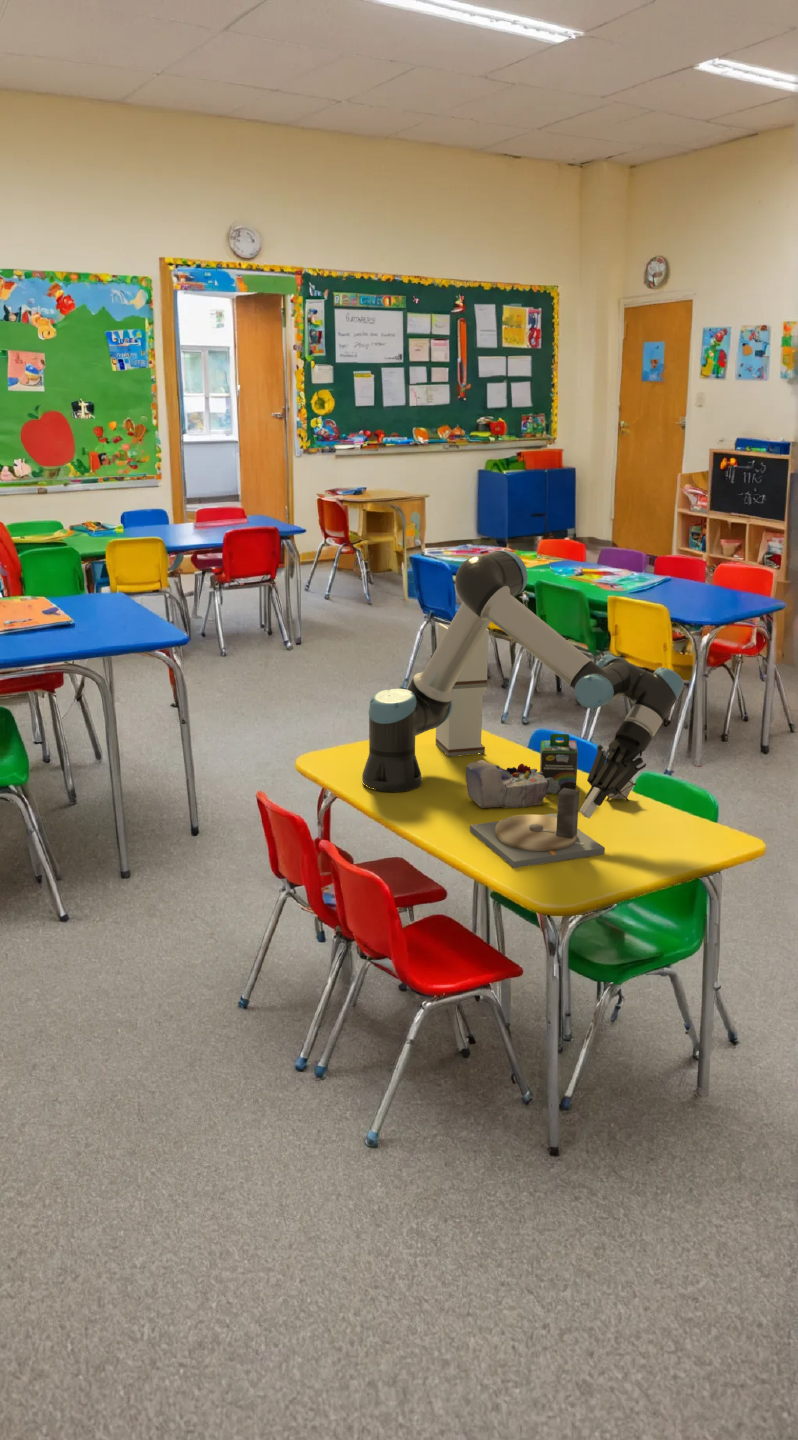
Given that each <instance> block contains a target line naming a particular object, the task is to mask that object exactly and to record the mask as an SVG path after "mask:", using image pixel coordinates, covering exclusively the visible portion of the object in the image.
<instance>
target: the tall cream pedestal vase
mask: <svg viewBox="0 0 798 1440" xmlns="http://www.w3.org/2000/svg"><path fill="white" fill-rule="evenodd" d="M448 627H449V626H446V625H445V624H443V623H440V622H439V623H437V646H438V645H439V643H440V641H441V640H442V638H443V636H444V634H445V632H446V631H447V629H448ZM489 632H490V629H488V628H487V629H486V631H485V633H484V635H483V636H482V638H481V640H480V641H479V643H478V645H477V647H476V648H475V650H474V652H473V653H472V655H471V657H470V659H469V660H468V662H467V664H466V666H465V667H464V669H463V671H462V672H461V674H460V676H459V678H458V679H457V681H456V683H455V684H454V686H453V688H452V689H453V692H454V697H453V699H452V701H451V703H452V710H451V713H450V715H449V717H448V718H447V720H446V721H445V722H443V723H442V724H441V725H440V726H438V727H436V728H435V746H436V745H438V747H439V748H440V750H441V749H442V750H441V751H442V752H443V753H444V752H445V753H446V754H447V755H446V754H445V753H444V754H445V755H446V756H447V757H448V756H453V757H460V756H459V755H465V756H468V755H467V754H478V753H485V754H486V747H485V746H484V744H482V728H483V727H482V726H483V725H482V724H483V700H484V699H483V697H484V695H483V694H484V693H487V692H488V665H489V664H488V663H489V638H490V637H489V636H490V635H489ZM438 747H437V748H438ZM439 748H438V749H439ZM478 755H479V754H478Z"/></svg>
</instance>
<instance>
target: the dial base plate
mask: <svg viewBox="0 0 798 1440" xmlns="http://www.w3.org/2000/svg"><path fill="white" fill-rule="evenodd" d="M544 815H545V816H551V817H556V818H557V812H556V813H548V814H544ZM499 821H500V820H497V821H491V822H483V823H482V822H481V823H475V824H470V825H469V831H470V833H471V834H473V836H475V837H476V838H477V837H478V838H477V839H478V840H480V841H481V842H482V843H484V845H486V846H487V847H488V848H489V849H491V850H492V851H493V852H494V853H496V855H498V856H499V857H500V858H501V859H502V858H503V859H502V860H504V861H505V863H507V864H508V865H510V867H512V868H513V869H517V868H522V867H523V866H524V867H529V866H528V865H530V866H536V865H543V864H549V862H550V863H556V862H561V861H562V860H563V861H569V860H575V858H576V859H581V858H587V857H588V856H589V857H595V856H600V855H605V853H606V848H605V847H604V846H603V845H602V844H600V842H597V841H596V840H595V839H593V838H592V837H590V836H589V835H588V834H586V833H585V832H584V831H582V830H580V829H579V828H577V840H576V842H575V843H574V844H573V845H571V846H569V847H567V848H564V849H560V850H555V851H529V850H522V849H517V848H514V847H511V846H508V845H506V844H504V843H502V842H501V841H499V840H498V839H497V837H496V835H495V829H496V824H497V823H498V822H499ZM589 857H588V858H589ZM568 859H569V860H568ZM542 863H543V864H542Z"/></svg>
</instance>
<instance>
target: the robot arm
mask: <svg viewBox="0 0 798 1440" xmlns="http://www.w3.org/2000/svg"><path fill="white" fill-rule="evenodd" d="M456 571H457V572H456V574H455V579H454V581H455V582H454V584H455V590H456V593H457V595H458V597H459V598H460V600H461V601H462V602H461V604H460V606H459V608H458V610H457V611H456V613H455V615H454V617H453V619H452V620H451V622H450V624H449V625H448V626H447V627H448V629H447V631H446V632H445V634H444V636H443V638H442V640H441V641H440V643H439V645H438V644H437V647H436V648H435V651H434V652H433V654H432V656H431V657H430V658H429V659H430V660H429V661H428V663H427V665H426V667H425V668H424V670H423V671H422V672H418V673H415V674H414V676H413V678H412V680H411V681H410V683H409V685H408V687H407V689H406V688H390V689H383V690H381V691H378V692H376V693H375V694H373V696H372V697H371V698H370V700H369V708H368V718H369V719H368V720H369V721H368V723H369V724H368V725H369V728H368V729H369V730H368V731H369V732H368V737H369V739H368V741H369V742H368V745H369V746H368V747H369V749H368V750H369V751H368V756H367V759H366V762H365V766H364V768H363V771H362V776H361V777H362V778H361V779H362V781H363V783H364V784H365V785H367V786H368V787H370V788H374V789H376V790H375V791H377V790H379V791H378V792H383V791H392V792H391V793H401V792H400V791H402V792H407V791H412V790H415V789H417V788H419V787H420V786H421V785H422V772H421V769H420V766H419V765H420V764H419V763H418V759H417V756H416V736H419V735H421V734H423V733H425V732H427V731H430V730H433V729H436V727H438V726H440V725H441V724H442V723H443V722H445V721H446V720H447V718H448V717H449V715H450V713H451V710H452V703H451V701H452V699H453V697H454V692H453V689H452V688H453V686H454V684H455V683H456V681H457V679H458V678H459V676H460V674H461V672H462V671H463V669H464V667H465V666H466V664H467V662H468V660H469V659H470V657H471V655H472V653H473V652H474V650H475V648H476V647H477V645H478V643H479V641H480V640H481V638H482V636H483V635H484V633H485V631H486V629H488V627H489V626H490V624H491V623H493V624H494V625H496V627H498V628H499V629H501V630H502V631H503V632H504V633H505V634H507V636H508V637H510V638H511V639H512V640H513V641H515V642H516V643H517V644H519V646H521V647H522V648H524V649H525V650H526V651H527V652H528V653H530V654H531V656H533V657H534V658H535V659H536V660H538V661H539V662H541V664H542V665H544V666H545V667H546V668H548V670H550V671H551V672H553V673H554V674H555V675H556V676H557V677H559V678H560V679H561V680H562V681H563V682H564V683H566V684H567V685H568V686H569V687H571V688H572V689H573V690H574V696H575V699H576V700H577V702H578V704H580V706H582V707H583V708H586V709H591V710H593V709H597V708H600V707H604V706H606V705H608V704H609V703H610V702H612V701H613V700H615V699H617V698H619V697H623V698H625V699H628V700H630V701H632V702H634V704H633V706H632V707H631V709H630V710H629V712H627V715H626V717H625V718H624V721H623V722H622V723H621V724H620V725H619V727H618V729H617V730H616V732H615V737H614V739H613V740H612V741H610V742H609V743H608V745H605V746H603V745H602V744H599V745H597V746H596V747H597V748H596V755H595V758H594V760H593V763H592V766H591V768H590V771H589V773H588V777H587V782H588V783H589V785H590V789H589V790H588V792H587V793H586V795H585V797H584V798H585V800H584V803H583V804H582V805H581V807H580V809H578V812H580V814H581V815H582V816H583V817H585V818H586V819H589V820H590V819H591V817H592V816H593V814H594V812H595V811H596V809H597V808H598V807H600V806H602V804H603V803H604V801H605V799H607V797H608V796H607V795H609V794H614V795H616V794H618V792H619V791H620V790H621V789H622V788H623V787H624V786H625V785H626V784H627V783H628V782H629V781H630V780H631V779H632V778H633V777H634V776H636V774H637V773H638V772H639V771H641V770H643V769H644V768H646V766H647V763H646V762H645V760H643V758H642V756H643V752H645V751H646V749H647V748H648V746H649V744H650V743H651V742H652V740H653V739H652V737H654V736H655V735H656V734H657V732H658V730H659V729H660V727H661V725H662V724H663V722H664V720H665V718H666V717H667V716H668V714H669V712H670V711H671V709H672V708H673V706H674V705H675V703H677V701H678V698H679V696H680V695H681V693H682V691H683V689H684V686H685V682H684V680H683V677H681V676H680V674H678V673H677V672H675V670H672V669H670V668H665V667H662V666H660V667H658V668H657V669H655V671H654V672H653V673H652V672H650V671H647V670H646V669H643V668H640V667H638V666H636V665H634V664H632V663H630V662H628V661H626V660H624V659H623V658H622V657H617V656H615V655H612V654H605V655H603V656H602V657H601V658H600V659H599V660H598V661H597V663H595V662H594V661H593V659H591V658H589V657H588V656H587V655H585V654H584V653H583V652H582V651H580V649H578V648H577V647H576V646H575V645H574V644H572V643H571V642H569V641H568V640H567V639H566V638H564V637H563V635H561V634H560V633H559V632H558V631H556V630H555V629H554V628H552V627H551V626H550V625H549V624H547V622H545V621H544V620H542V619H541V618H540V617H539V616H537V614H535V613H534V612H533V611H532V610H531V609H529V608H528V607H527V606H525V605H524V603H522V602H520V601H519V600H518V599H517V598H516V597H518V595H520V594H521V593H522V592H523V591H524V590H525V588H526V586H527V584H528V575H529V574H528V571H527V566H526V565H525V562H524V561H523V560H522V558H521V557H520V556H519V555H517V554H516V553H515V552H512V551H509V550H495V551H491V552H488V553H484V554H479V555H475V556H471V557H469V558H467V559H466V560H464V561H463V562H462V563H461V564H460V566H459V567H458V569H457V570H456ZM362 781H361V782H362ZM363 783H362V784H363ZM615 787H616V788H615ZM370 788H369V789H370ZM396 791H397V792H396Z"/></svg>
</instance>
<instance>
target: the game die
mask: <svg viewBox="0 0 798 1440" xmlns="http://www.w3.org/2000/svg"><path fill="white" fill-rule="evenodd" d="M636 785H637V783H636V782H634V781H633V780H632V779H631V780H630V781H629V782H628V783H627V784H626V785H625V786H624V787H623V788H622V789H621V790H620V791H619V792H618V794H616V795H614V794H609V795H607V796H606V801H607V802H608V801H610V799H617V800H618V799H619V800H620V799H623V800H625V801H627V802H629V798H628V797H629V795H630V793H631V790H632V789H633V787H634V786H636ZM615 788H616V787H615Z"/></svg>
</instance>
